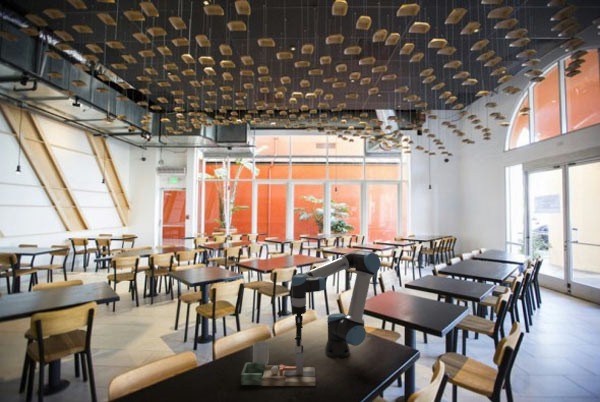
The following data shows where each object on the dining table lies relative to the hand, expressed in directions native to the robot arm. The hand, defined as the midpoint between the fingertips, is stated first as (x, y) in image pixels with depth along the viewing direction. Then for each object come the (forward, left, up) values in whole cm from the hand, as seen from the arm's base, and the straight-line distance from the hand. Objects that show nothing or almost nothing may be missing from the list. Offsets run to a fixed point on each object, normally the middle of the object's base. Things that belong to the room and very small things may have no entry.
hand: (298, 346), depth 152 cm
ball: (+13, 0, -12) cm, 18 cm away
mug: (+23, -16, -16) cm, 32 cm away
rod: (+4, 0, -14) cm, 14 cm away
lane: (+11, 0, -16) cm, 19 cm away
